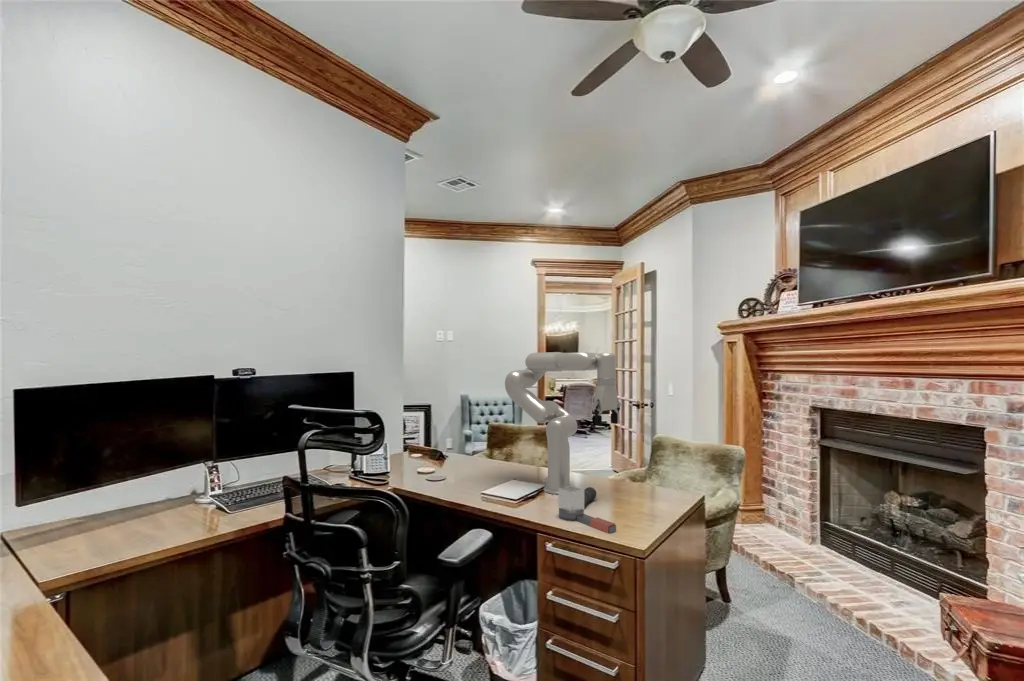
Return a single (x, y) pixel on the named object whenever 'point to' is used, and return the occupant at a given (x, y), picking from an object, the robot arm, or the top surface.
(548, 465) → the robot arm
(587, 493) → the flashlight
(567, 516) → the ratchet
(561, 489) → the socket
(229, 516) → the top surface
